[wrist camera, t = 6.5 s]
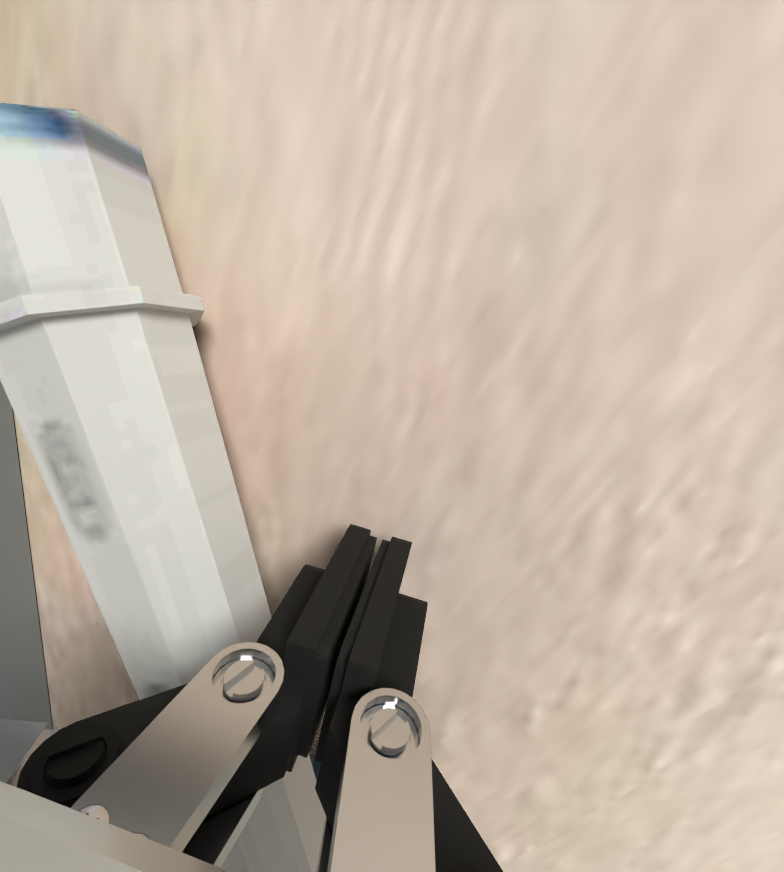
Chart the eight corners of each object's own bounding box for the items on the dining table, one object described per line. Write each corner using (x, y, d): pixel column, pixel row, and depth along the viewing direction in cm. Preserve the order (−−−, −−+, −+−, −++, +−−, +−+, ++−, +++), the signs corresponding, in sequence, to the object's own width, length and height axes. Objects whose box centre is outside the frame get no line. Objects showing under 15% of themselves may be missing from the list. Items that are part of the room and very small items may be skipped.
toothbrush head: (27, 39, 6) (396, 1218, 10) (259, 193, 13) (434, 880, 16) (-182, 161, 8) (208, 1159, 11) (122, 245, 14) (311, 868, 18)
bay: (278, 859, 19) (243, 959, 16) (39, 766, 20) (-32, 843, 17) (513, -380, 7) (536, -871, 4) (-138, -411, 8) (-476, -792, 5)
